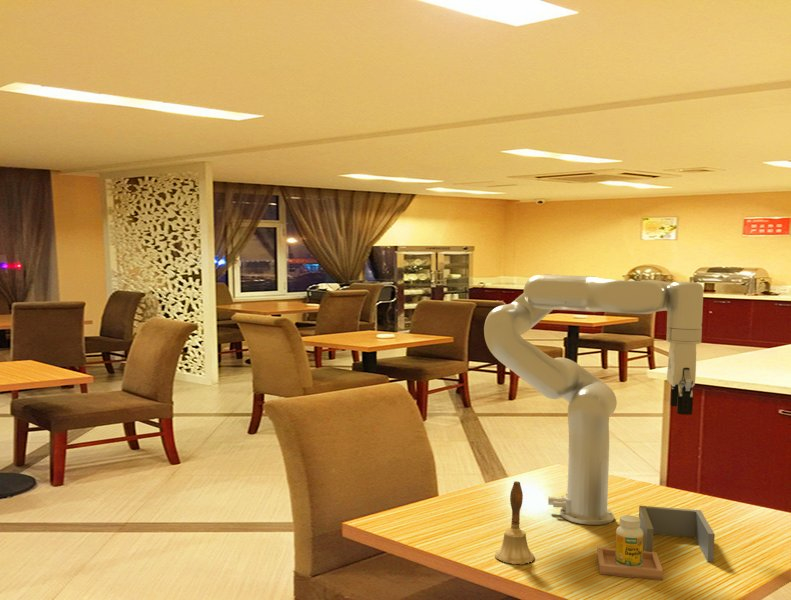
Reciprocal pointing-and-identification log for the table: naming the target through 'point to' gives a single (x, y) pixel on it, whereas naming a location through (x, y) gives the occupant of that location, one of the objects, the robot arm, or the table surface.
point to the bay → (676, 527)
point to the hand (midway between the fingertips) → (681, 410)
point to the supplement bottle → (629, 542)
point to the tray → (647, 570)
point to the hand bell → (515, 534)
